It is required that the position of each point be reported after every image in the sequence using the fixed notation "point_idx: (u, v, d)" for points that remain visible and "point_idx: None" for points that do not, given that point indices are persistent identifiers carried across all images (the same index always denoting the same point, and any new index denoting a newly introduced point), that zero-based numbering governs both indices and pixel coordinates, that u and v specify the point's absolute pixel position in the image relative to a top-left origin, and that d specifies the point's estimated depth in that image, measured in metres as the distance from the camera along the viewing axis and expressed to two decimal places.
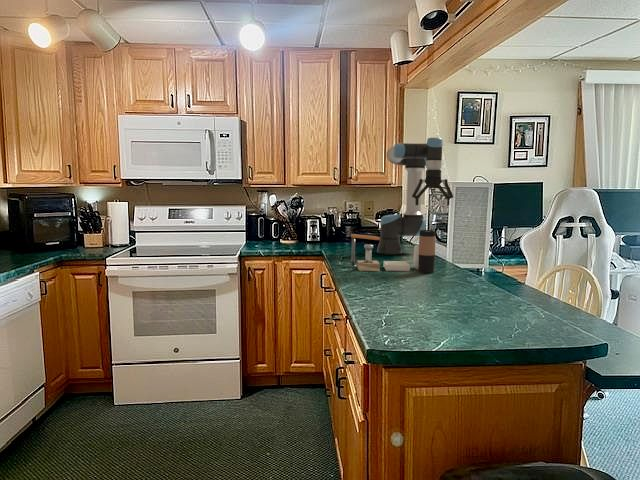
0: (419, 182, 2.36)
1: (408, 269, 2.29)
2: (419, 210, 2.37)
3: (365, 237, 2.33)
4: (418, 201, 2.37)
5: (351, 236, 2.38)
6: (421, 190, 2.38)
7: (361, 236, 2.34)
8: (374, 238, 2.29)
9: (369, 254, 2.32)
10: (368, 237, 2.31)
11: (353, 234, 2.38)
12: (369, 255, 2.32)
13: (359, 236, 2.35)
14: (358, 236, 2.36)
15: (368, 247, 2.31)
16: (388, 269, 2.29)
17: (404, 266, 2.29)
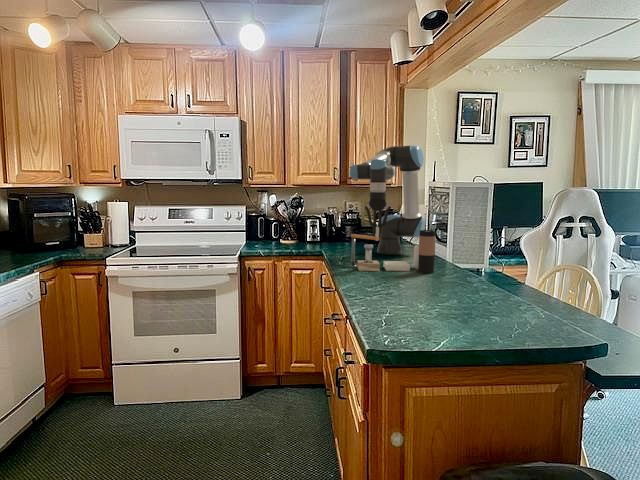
0: (366, 210, 2.29)
1: (408, 269, 2.29)
2: None
3: (365, 237, 2.32)
4: (376, 229, 2.30)
5: (351, 236, 2.38)
6: (373, 217, 2.30)
7: (361, 236, 2.34)
8: (373, 238, 2.28)
9: (369, 254, 2.32)
10: (368, 237, 2.31)
11: (353, 234, 2.38)
12: (369, 255, 2.32)
13: (359, 236, 2.35)
14: (358, 236, 2.36)
15: (368, 247, 2.31)
16: (388, 269, 2.29)
17: (404, 266, 2.29)
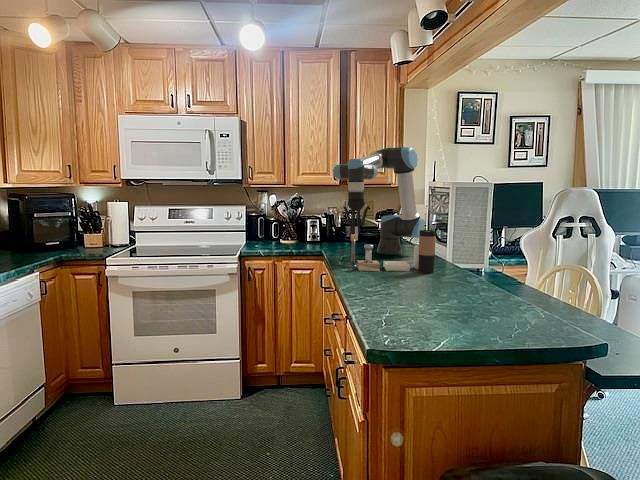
0: None
1: (408, 269, 2.29)
2: (356, 238, 2.29)
3: None
4: (355, 229, 2.29)
5: None
6: (352, 216, 2.30)
7: (351, 236, 2.33)
8: None
9: (369, 254, 2.32)
10: (351, 237, 2.29)
11: (352, 234, 2.39)
12: (369, 255, 2.32)
13: (351, 236, 2.35)
14: None
15: (368, 247, 2.31)
16: (388, 269, 2.29)
17: (404, 266, 2.29)
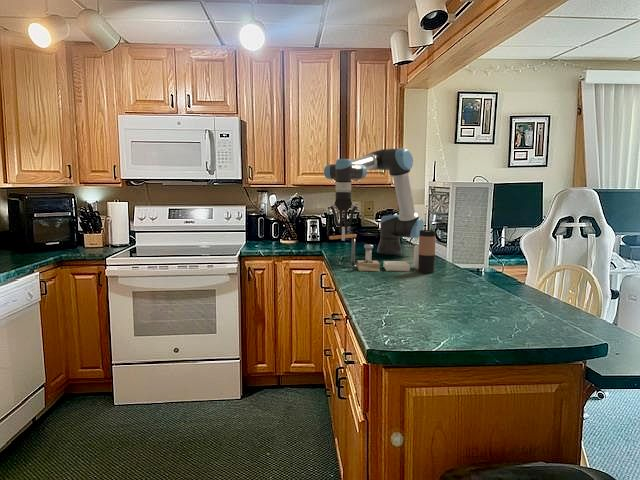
0: None
1: (408, 269, 2.29)
2: (343, 239, 2.30)
3: None
4: (342, 229, 2.29)
5: None
6: (339, 217, 2.30)
7: None
8: None
9: (369, 254, 2.32)
10: None
11: (352, 234, 2.39)
12: (369, 255, 2.32)
13: None
14: None
15: (368, 247, 2.31)
16: (388, 269, 2.29)
17: (404, 266, 2.29)
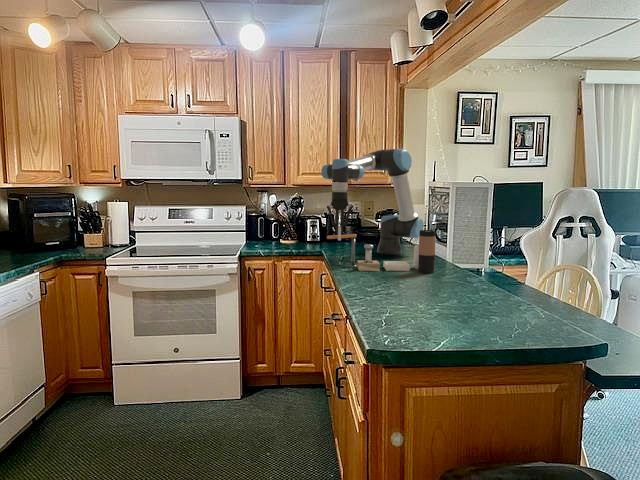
0: None
1: (408, 269, 2.29)
2: (339, 238, 2.30)
3: None
4: (338, 229, 2.29)
5: None
6: None
7: None
8: None
9: (369, 254, 2.32)
10: None
11: (352, 234, 2.39)
12: (369, 255, 2.32)
13: None
14: None
15: (368, 247, 2.31)
16: (388, 269, 2.29)
17: (404, 266, 2.29)
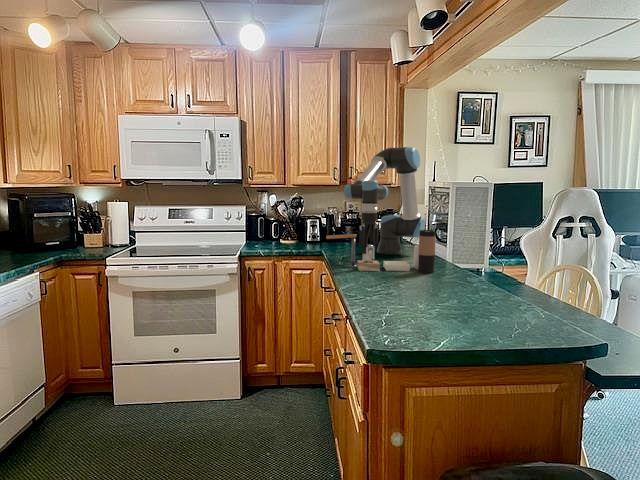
0: (362, 230, 2.27)
1: (408, 269, 2.29)
2: (367, 259, 2.31)
3: None
4: (366, 249, 2.30)
5: None
6: None
7: None
8: None
9: (369, 254, 2.32)
10: None
11: (352, 234, 2.39)
12: (369, 255, 2.32)
13: None
14: None
15: (368, 247, 2.31)
16: (388, 269, 2.29)
17: (404, 266, 2.29)
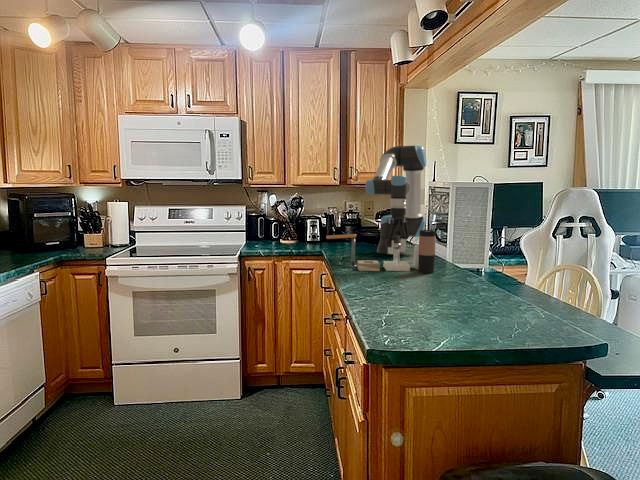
0: (390, 223, 2.27)
1: (408, 269, 2.29)
2: (393, 252, 2.30)
3: None
4: (392, 243, 2.29)
5: None
6: None
7: None
8: None
9: (397, 253, 2.33)
10: None
11: (352, 234, 2.39)
12: (397, 254, 2.33)
13: None
14: None
15: (396, 246, 2.32)
16: (388, 269, 2.29)
17: (404, 266, 2.29)
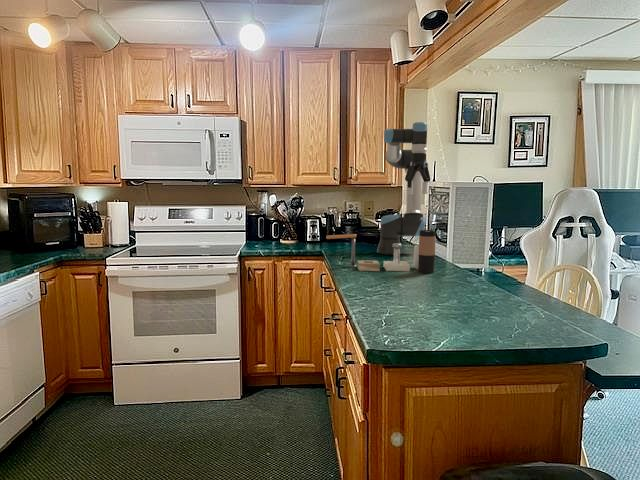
0: (412, 165, 2.42)
1: (408, 269, 2.29)
2: (412, 192, 2.43)
3: None
4: (411, 183, 2.42)
5: None
6: None
7: None
8: None
9: (397, 253, 2.33)
10: None
11: (352, 234, 2.39)
12: (397, 254, 2.33)
13: None
14: None
15: (397, 246, 2.32)
16: (388, 269, 2.29)
17: (404, 266, 2.29)
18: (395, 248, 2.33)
